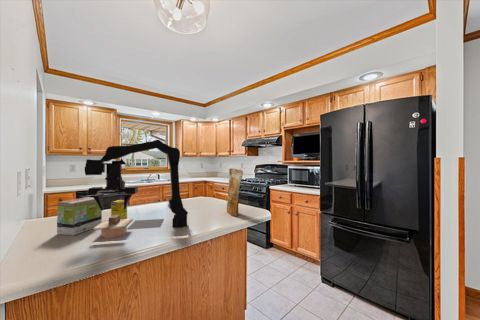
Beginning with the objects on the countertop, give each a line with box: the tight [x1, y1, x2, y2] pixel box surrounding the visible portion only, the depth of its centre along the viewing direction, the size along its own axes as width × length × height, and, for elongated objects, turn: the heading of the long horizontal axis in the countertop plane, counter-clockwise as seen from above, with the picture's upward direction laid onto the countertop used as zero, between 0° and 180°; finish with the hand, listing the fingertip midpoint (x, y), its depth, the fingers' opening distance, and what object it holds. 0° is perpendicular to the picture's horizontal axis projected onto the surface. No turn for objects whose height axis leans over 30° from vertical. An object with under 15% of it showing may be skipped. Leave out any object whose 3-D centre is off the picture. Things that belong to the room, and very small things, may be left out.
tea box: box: [56, 196, 103, 236], centre depth 104 cm, size 15×10×15 cm, turn 168°
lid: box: [93, 215, 134, 231], centre depth 95 cm, size 12×12×4 cm
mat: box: [127, 218, 165, 230], centre depth 110 cm, size 15×15×1 cm
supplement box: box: [110, 199, 128, 219], centre depth 119 cm, size 6×6×11 cm
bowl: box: [100, 226, 128, 239], centre depth 95 cm, size 9×9×5 cm
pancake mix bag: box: [226, 168, 244, 217], centre depth 135 cm, size 7×19×28 cm, turn 20°
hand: (113, 209), depth 95 cm, fingers open, 9 cm apart
